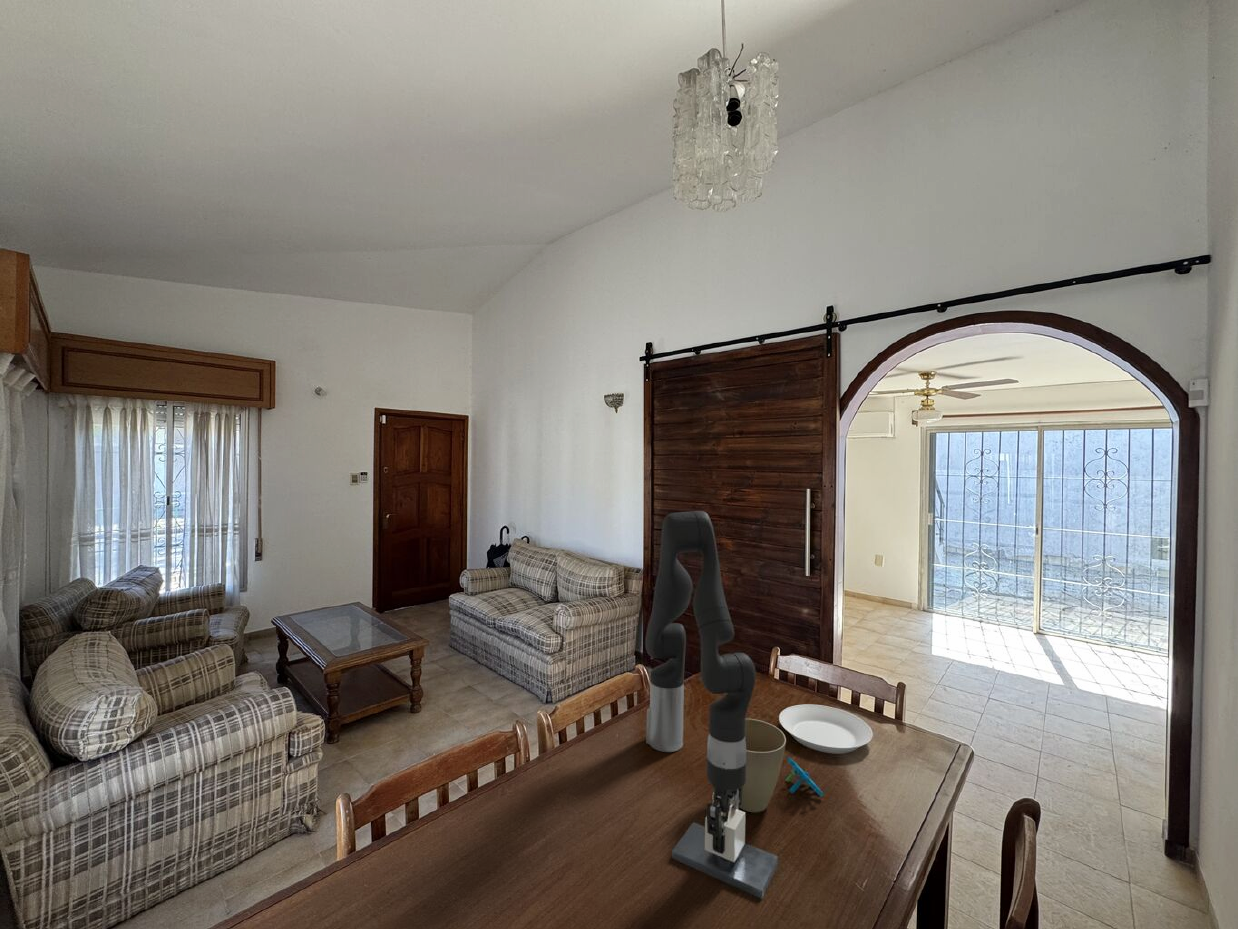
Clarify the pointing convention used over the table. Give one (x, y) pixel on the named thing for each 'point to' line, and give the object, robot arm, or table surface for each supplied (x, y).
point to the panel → (727, 862)
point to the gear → (801, 778)
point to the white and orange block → (729, 836)
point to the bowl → (825, 728)
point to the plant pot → (761, 763)
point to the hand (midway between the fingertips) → (724, 840)
